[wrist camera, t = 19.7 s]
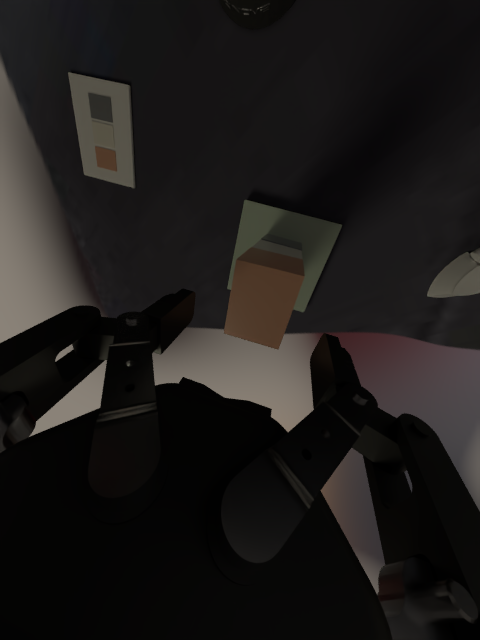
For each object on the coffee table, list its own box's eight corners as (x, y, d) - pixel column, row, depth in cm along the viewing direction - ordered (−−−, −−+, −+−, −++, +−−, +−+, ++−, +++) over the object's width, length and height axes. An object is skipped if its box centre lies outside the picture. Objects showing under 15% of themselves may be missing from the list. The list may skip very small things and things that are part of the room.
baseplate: (246, 200, 26) (233, 197, 20) (340, 224, 24) (352, 228, 19) (229, 286, 32) (215, 301, 27) (303, 308, 31) (304, 329, 25)
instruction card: (70, 73, 24) (67, 71, 23) (130, 86, 23) (128, 84, 23) (86, 174, 29) (83, 174, 29) (135, 188, 28) (133, 188, 28)
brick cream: (260, 239, 22) (251, 246, 17) (301, 250, 21) (302, 261, 17) (247, 289, 25) (237, 306, 20) (283, 300, 24) (280, 320, 20)
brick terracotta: (251, 246, 17) (236, 259, 13) (302, 259, 17) (304, 276, 13) (239, 307, 20) (223, 333, 16) (282, 319, 20) (278, 349, 16)
